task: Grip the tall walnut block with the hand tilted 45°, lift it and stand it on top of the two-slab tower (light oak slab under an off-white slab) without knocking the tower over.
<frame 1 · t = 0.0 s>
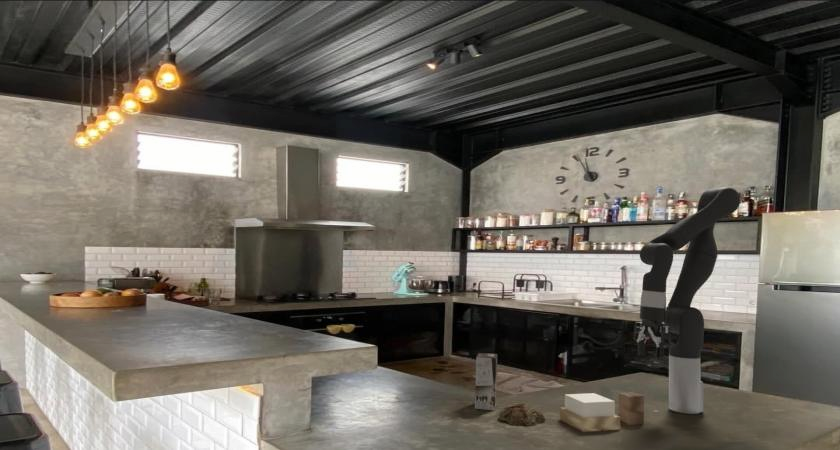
hand: (649, 357, 179), 17 cm above the countertop, tool pointing down, fingers open, 8 cm apart
tower top: (589, 411, 164), point 3 cm above the countertop, touching tower base
tower base: (589, 426, 163), on the countertop, touching tower top
walnut block: (631, 421, 167), on the countertop
bread roll: (520, 421, 166), on the countertop
coffee box: (485, 407, 180), on the countertop
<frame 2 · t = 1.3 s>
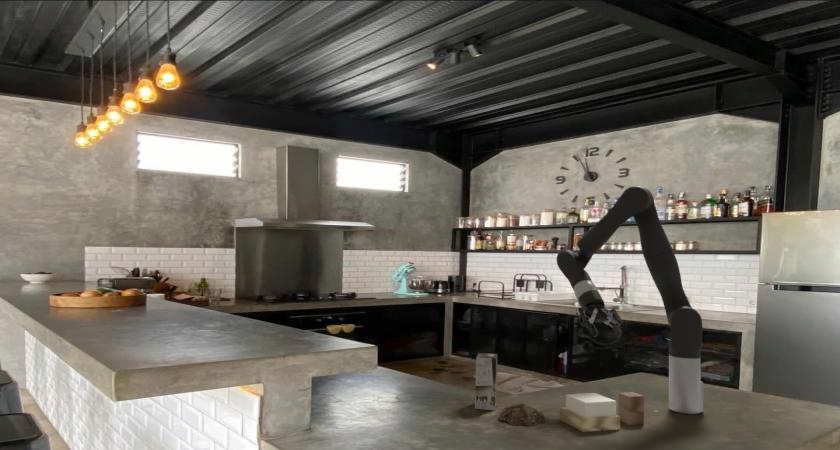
hand: (608, 335, 180), 24 cm above the countertop, tool tilted 45°, fingers open, 8 cm apart
nothing on the countertop moved.
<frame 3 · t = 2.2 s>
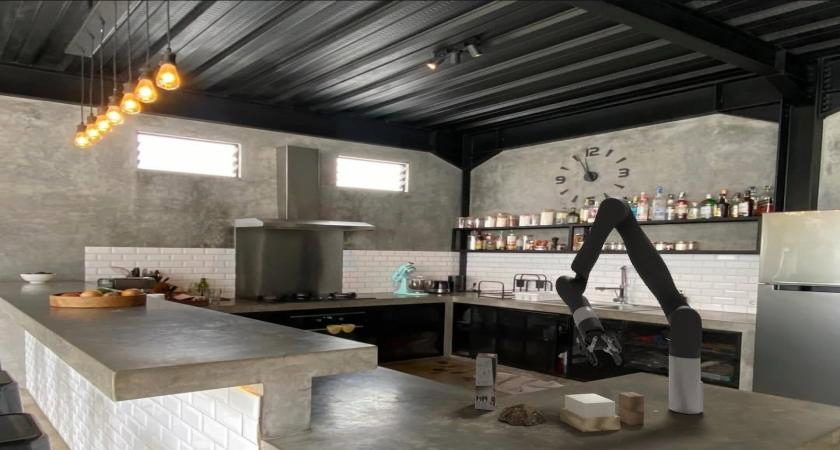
hand: (607, 364, 179), 15 cm above the countertop, tool tilted 45°, fingers open, 8 cm apart
nothing on the countertop moved.
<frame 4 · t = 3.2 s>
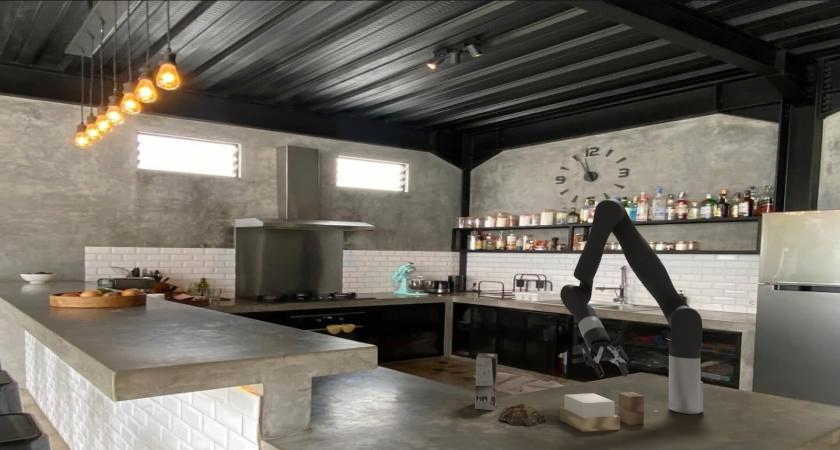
hand: (614, 375, 176), 12 cm above the countertop, tool tilted 45°, fingers open, 8 cm apart
tower top: (588, 412, 164), point 3 cm above the countertop
tower base: (589, 426, 163), on the countertop
everything else where it was.
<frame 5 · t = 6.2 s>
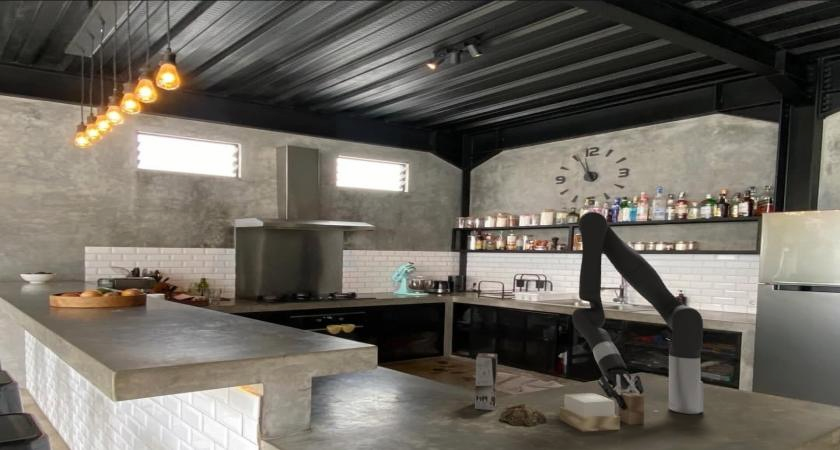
hand: (633, 408, 167), 4 cm above the countertop, tool tilted 45°, fingers closed on walnut block, 5 cm apart
tower top: (589, 411, 164), point 3 cm above the countertop, touching tower base
tower base: (589, 426, 164), on the countertop, touching tower top
walnut block: (631, 421, 167), on the countertop, touching gripper
everything else where it was.
when the fingers open (14 cm above the countertop, at t = 13.4 s): walnut block drops 2 cm, point 7 cm above the countertop.
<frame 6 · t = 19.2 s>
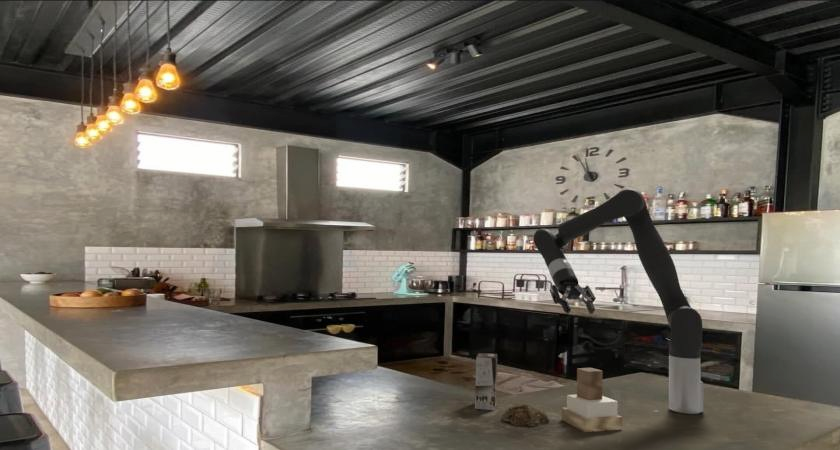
hand: (580, 312, 181), 31 cm above the countertop, tool tilted 45°, fingers open, 8 cm apart
walnut block: (589, 397, 164), point 7 cm above the countertop
at the end: walnut block 0.6 cm off-centre on the tower top, point 4.0 cm above the tower top's base; walnut block tilted 0°; tower top 0.1 cm off-centre on the tower base, point 4.0 cm above the tower base's base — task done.
